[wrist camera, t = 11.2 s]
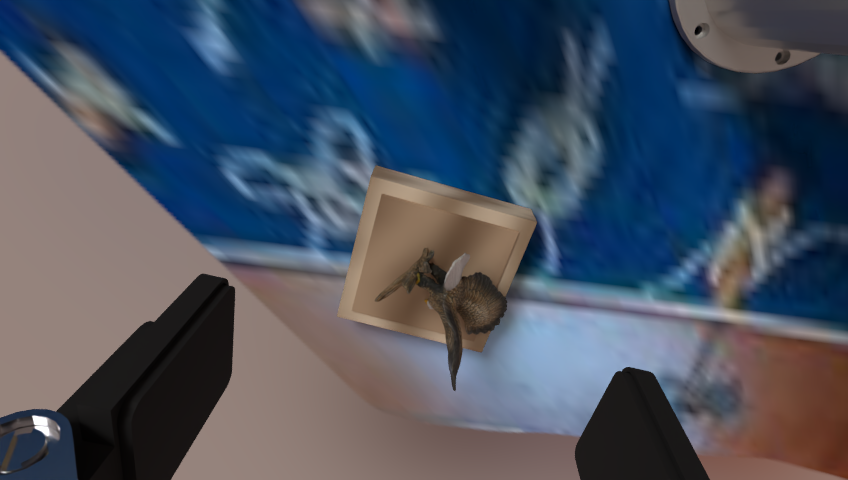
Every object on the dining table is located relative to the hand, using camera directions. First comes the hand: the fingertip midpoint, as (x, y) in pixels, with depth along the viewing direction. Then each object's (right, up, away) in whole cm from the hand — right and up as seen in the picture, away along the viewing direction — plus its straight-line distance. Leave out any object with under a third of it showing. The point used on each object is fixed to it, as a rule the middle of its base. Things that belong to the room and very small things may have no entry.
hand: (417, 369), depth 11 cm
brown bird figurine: (+2, -1, +24) cm, 24 cm away
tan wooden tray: (+1, +2, +26) cm, 26 cm away
